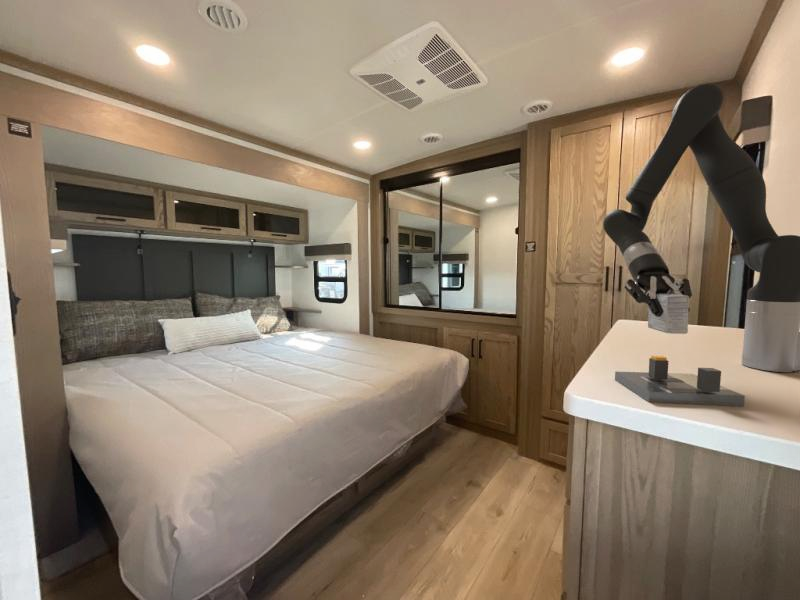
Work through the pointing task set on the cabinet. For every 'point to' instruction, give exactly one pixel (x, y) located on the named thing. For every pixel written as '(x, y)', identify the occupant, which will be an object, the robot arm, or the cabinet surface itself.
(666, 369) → the block
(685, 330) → the light grey block
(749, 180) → the robot arm
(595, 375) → the cabinet surface
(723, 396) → the board
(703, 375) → the block
